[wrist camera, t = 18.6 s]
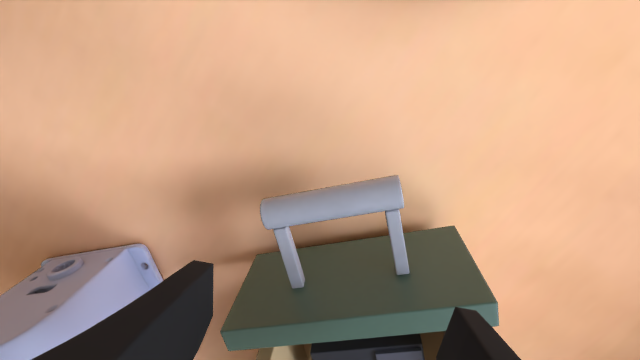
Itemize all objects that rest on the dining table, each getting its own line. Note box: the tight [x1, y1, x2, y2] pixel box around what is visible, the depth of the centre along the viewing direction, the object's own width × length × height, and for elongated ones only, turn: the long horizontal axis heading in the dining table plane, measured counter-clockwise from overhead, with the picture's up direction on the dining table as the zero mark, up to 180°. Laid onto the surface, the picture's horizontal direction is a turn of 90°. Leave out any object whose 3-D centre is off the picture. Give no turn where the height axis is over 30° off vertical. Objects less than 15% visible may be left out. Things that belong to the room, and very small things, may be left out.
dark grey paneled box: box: [310, 333, 425, 360], centre depth 18 cm, size 4×6×3 cm, turn 103°
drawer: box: [220, 175, 499, 360], centre depth 17 cm, size 17×11×6 cm, turn 13°
